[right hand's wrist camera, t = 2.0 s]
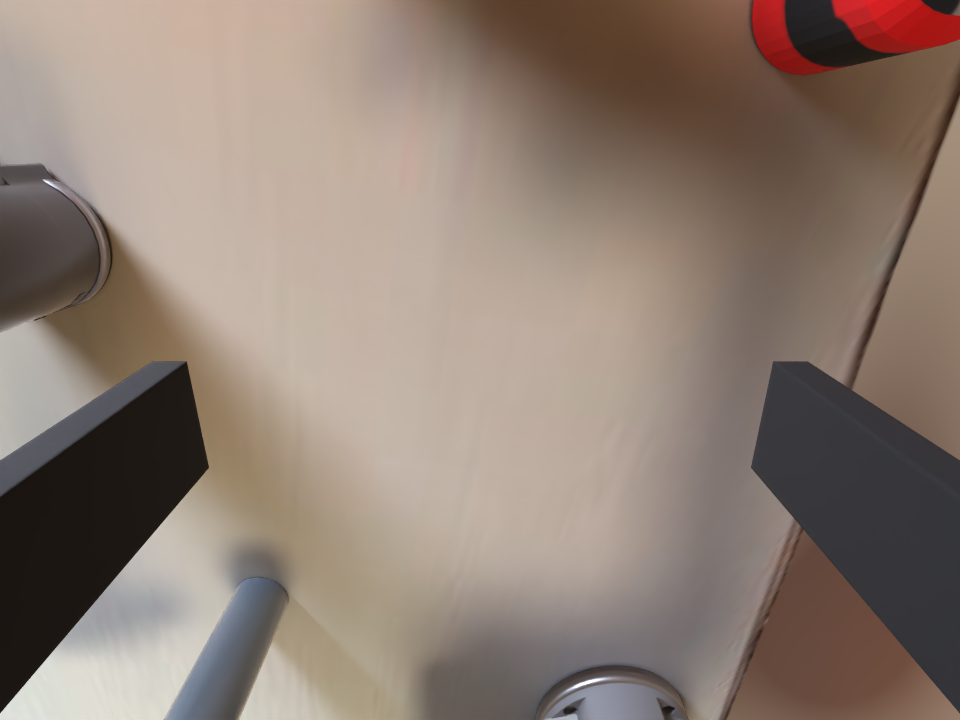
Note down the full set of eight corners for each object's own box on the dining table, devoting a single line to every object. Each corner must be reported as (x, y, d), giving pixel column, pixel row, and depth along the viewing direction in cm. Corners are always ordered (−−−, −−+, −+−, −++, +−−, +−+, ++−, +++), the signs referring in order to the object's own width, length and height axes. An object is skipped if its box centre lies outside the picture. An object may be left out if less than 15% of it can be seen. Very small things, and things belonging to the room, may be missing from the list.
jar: (223, 591, 50) (86, 829, 33) (264, 568, 49) (145, 801, 32) (259, 625, 52) (146, 870, 34) (299, 603, 51) (203, 844, 33)
